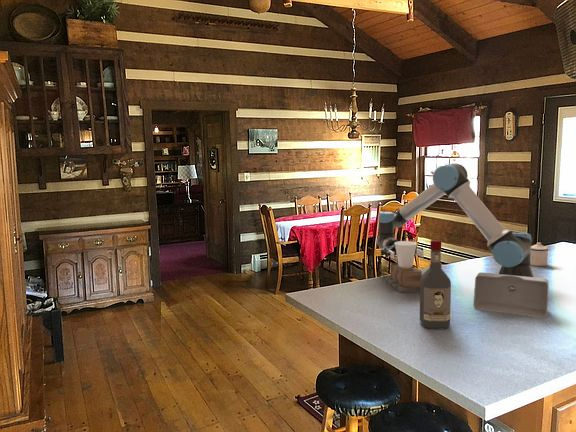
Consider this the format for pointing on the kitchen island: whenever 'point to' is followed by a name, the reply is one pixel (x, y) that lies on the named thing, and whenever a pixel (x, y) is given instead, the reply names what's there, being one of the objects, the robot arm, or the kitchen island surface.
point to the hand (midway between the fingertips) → (408, 255)
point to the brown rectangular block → (404, 278)
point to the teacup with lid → (539, 255)
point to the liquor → (435, 292)
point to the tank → (511, 294)
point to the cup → (405, 253)
